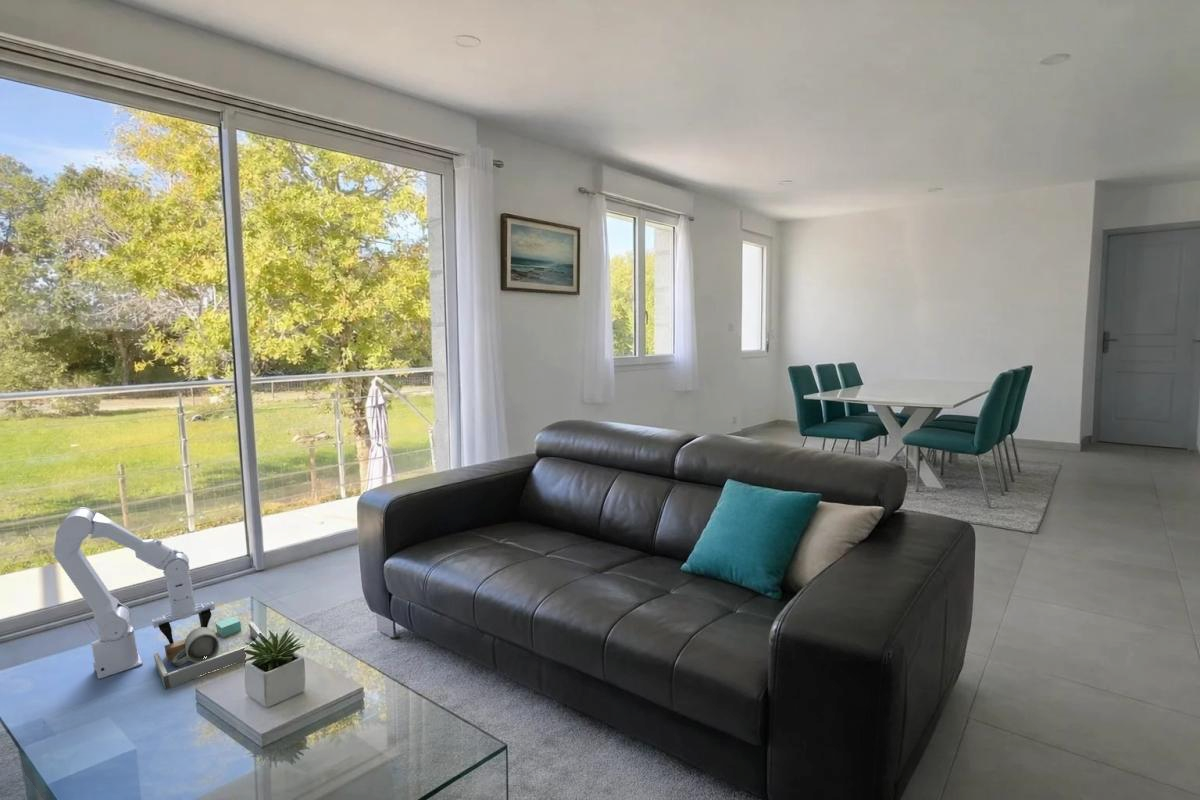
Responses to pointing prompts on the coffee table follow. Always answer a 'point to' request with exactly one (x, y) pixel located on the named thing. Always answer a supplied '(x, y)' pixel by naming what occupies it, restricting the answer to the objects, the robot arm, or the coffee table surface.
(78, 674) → the coffee table surface
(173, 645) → the brown wooden block
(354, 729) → the coffee table surface
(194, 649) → the ceramic mug
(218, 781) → the coffee table surface
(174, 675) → the frame
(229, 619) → the turquoise cube box
